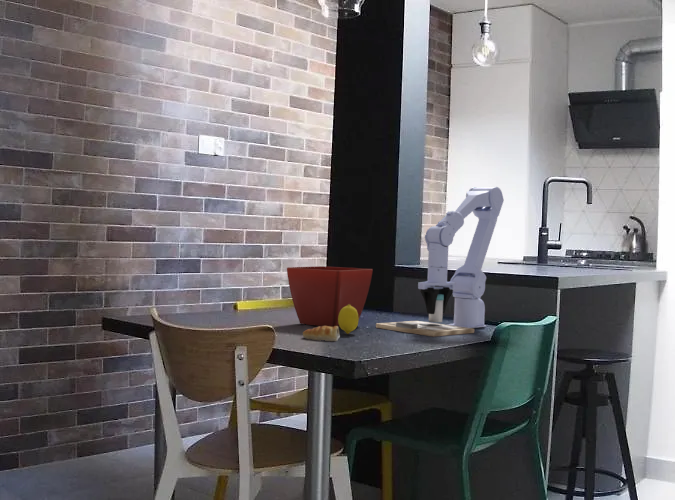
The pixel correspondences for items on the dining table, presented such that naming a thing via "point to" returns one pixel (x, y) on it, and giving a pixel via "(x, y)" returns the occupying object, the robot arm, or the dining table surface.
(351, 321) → the lemon
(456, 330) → the clipboard
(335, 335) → the pastry
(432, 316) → the white jar teal lid
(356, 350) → the dining table surface
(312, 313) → the plant pot
